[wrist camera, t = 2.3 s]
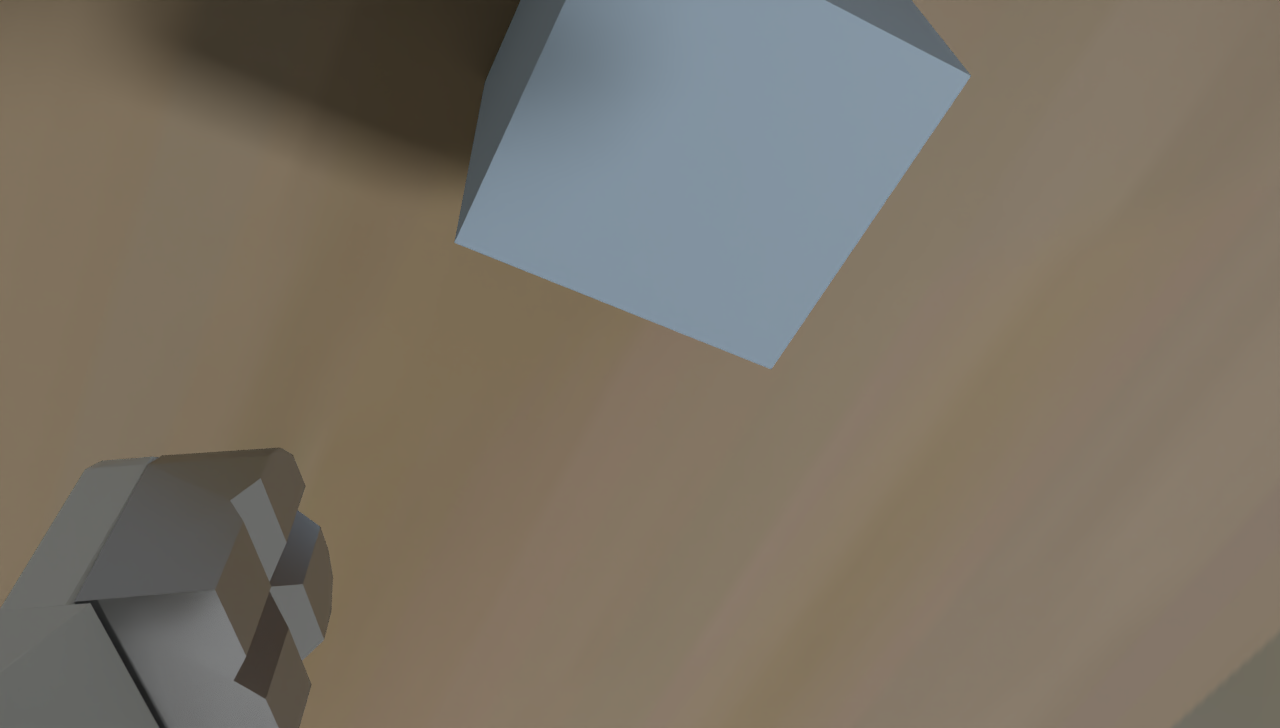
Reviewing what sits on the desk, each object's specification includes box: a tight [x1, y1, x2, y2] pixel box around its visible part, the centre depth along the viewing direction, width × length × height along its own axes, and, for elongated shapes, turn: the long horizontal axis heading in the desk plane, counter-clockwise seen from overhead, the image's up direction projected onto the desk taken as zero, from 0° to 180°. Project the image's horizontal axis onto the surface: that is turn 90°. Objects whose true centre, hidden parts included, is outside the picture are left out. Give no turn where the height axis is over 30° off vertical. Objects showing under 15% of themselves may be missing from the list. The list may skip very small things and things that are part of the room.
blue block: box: [454, 0, 971, 369], centre depth 17 cm, size 5×5×6 cm
